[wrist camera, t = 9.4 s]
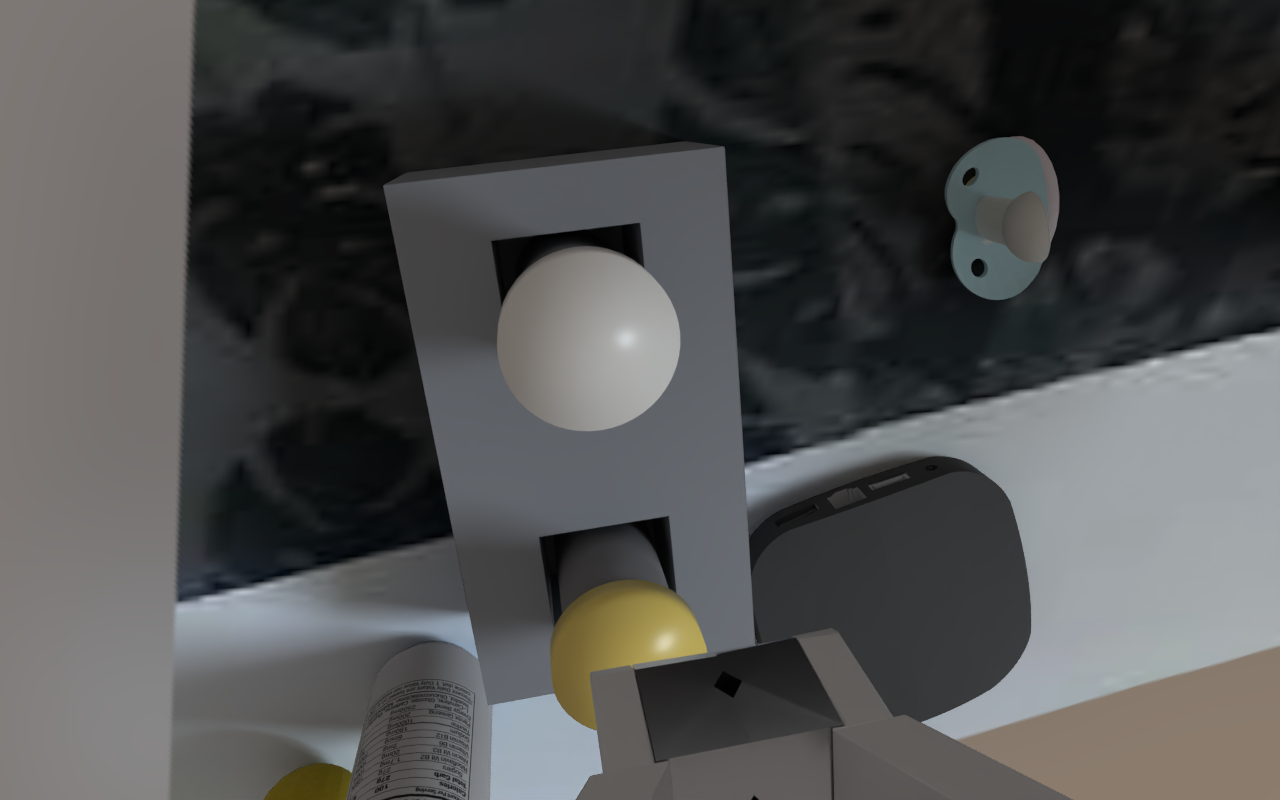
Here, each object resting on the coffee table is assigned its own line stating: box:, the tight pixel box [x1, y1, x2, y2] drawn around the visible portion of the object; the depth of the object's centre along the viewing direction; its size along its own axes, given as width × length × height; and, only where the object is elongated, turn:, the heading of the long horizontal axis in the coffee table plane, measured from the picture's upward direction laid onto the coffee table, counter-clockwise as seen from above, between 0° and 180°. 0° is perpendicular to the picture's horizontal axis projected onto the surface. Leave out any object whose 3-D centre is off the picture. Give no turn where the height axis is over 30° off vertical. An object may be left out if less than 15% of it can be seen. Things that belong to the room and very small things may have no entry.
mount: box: [383, 141, 755, 705], centre depth 36 cm, size 12×22×7 cm, turn 6°
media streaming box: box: [749, 457, 1031, 722], centre depth 44 cm, size 15×15×3 cm
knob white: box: [497, 230, 680, 431], centre depth 30 cm, size 6×6×11 cm
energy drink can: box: [346, 642, 492, 800], centre depth 36 cm, size 6×6×15 cm
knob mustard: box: [550, 520, 707, 730], centre depth 34 cm, size 6×6×11 cm
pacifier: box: [945, 136, 1059, 300], centre depth 36 cm, size 7×6×6 cm
